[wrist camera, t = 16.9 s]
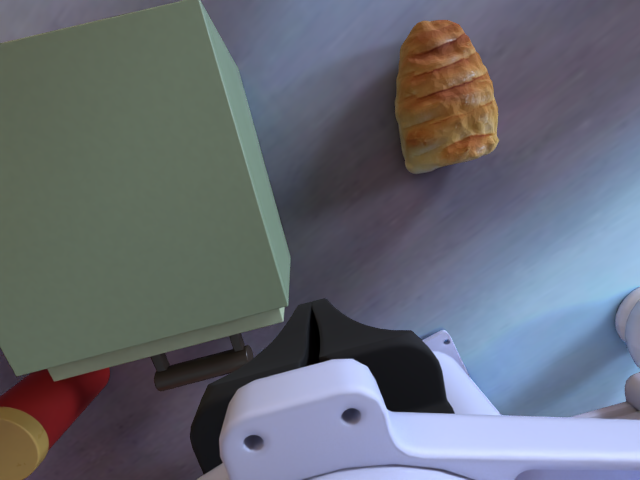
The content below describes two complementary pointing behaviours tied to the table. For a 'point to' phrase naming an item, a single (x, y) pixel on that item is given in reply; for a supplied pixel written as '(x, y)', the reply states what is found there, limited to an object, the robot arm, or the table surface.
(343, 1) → the table surface
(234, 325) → the drawer
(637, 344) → the flower vase
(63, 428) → the tea tin
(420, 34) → the pastry
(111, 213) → the cabinet
